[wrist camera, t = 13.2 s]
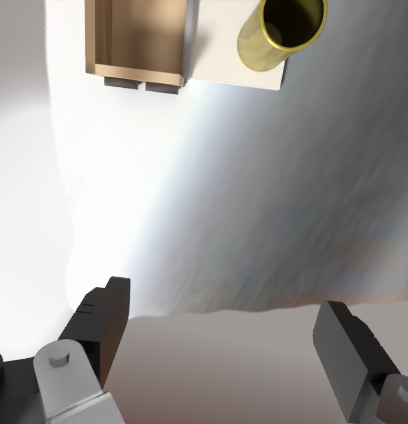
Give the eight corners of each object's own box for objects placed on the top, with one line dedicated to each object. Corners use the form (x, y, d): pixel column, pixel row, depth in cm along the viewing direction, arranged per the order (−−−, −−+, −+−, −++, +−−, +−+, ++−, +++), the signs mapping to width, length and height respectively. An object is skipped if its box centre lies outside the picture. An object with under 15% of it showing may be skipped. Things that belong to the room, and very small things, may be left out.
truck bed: (194, -35, 35) (191, -66, 29) (183, 95, 40) (178, 94, 33) (107, -47, 35) (83, -81, 28) (106, 85, 40) (85, 82, 33)
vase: (253, 3, 35) (281, -54, 22) (298, 31, 36) (351, -8, 23) (227, 56, 37) (238, 33, 24) (270, 81, 38) (304, 72, 25)
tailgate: (294, -1, 36) (299, -7, 34) (277, 90, 40) (281, 89, 38) (189, -15, 36) (188, -22, 34) (181, 78, 39) (180, 77, 37)
